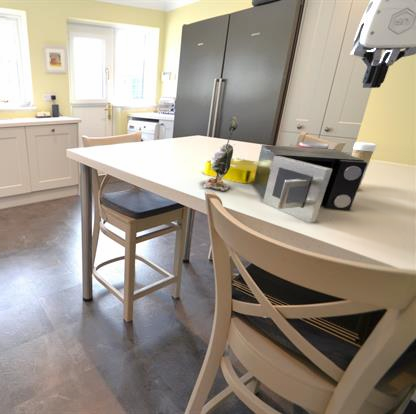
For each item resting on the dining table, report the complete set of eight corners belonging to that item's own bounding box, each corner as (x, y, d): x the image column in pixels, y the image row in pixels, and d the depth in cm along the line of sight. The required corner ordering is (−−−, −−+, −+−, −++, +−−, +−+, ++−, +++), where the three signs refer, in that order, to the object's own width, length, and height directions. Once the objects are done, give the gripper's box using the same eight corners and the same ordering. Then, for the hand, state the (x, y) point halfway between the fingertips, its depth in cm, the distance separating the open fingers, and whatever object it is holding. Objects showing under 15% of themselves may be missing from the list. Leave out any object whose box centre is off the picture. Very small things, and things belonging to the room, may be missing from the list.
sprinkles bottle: (335, 187, 85) (351, 141, 80) (347, 186, 86) (363, 141, 81) (351, 192, 81) (368, 144, 75) (363, 191, 82) (381, 144, 76)
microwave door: (287, 226, 58) (303, 171, 54) (242, 204, 70) (253, 157, 65) (315, 222, 61) (332, 168, 56) (267, 201, 72) (279, 155, 67)
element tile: (201, 174, 95) (203, 160, 94) (223, 167, 105) (225, 154, 103) (246, 184, 85) (249, 169, 83) (265, 176, 94) (269, 162, 93)
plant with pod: (235, 184, 85) (249, 115, 77) (223, 194, 77) (238, 117, 69) (208, 179, 90) (219, 113, 82) (194, 188, 81) (205, 115, 74)
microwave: (351, 213, 66) (370, 162, 62) (266, 204, 70) (278, 156, 66) (321, 191, 81) (335, 149, 76) (252, 185, 85) (261, 144, 80)
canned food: (288, 176, 95) (297, 143, 91) (294, 172, 100) (303, 140, 96) (315, 181, 90) (326, 146, 86) (320, 176, 95) (331, 143, 91)
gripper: (371, -24, 51) (338, 86, 58) (477, -31, 48) (428, 87, 54) (350, -10, 58) (322, 87, 65) (441, -16, 54) (401, 88, 61)
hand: (370, 87), depth 60 cm, fingers closed
